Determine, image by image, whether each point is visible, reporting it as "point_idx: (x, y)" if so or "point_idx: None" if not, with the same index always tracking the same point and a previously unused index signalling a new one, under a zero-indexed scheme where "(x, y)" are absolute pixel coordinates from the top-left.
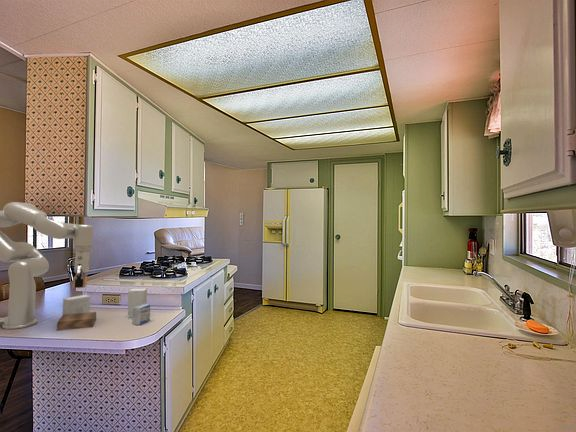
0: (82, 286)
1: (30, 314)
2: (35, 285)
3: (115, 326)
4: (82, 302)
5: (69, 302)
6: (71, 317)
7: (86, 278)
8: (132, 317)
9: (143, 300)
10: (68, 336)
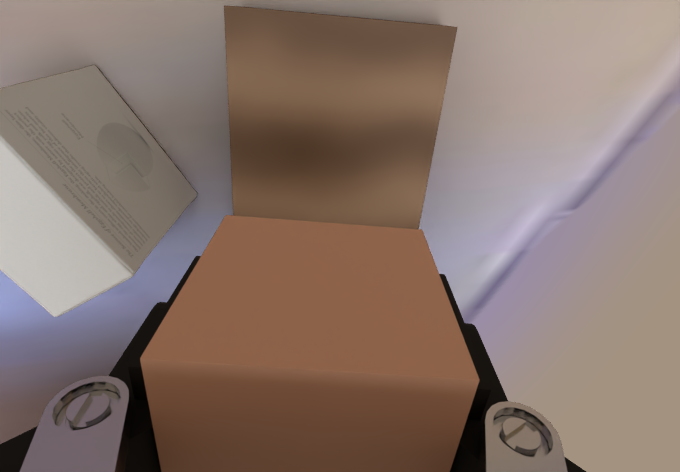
0: (444, 277)
1: None
2: None
3: None
4: (70, 154)
5: (142, 258)
6: (339, 189)
7: (307, 322)
8: None
9: None
10: (562, 162)
